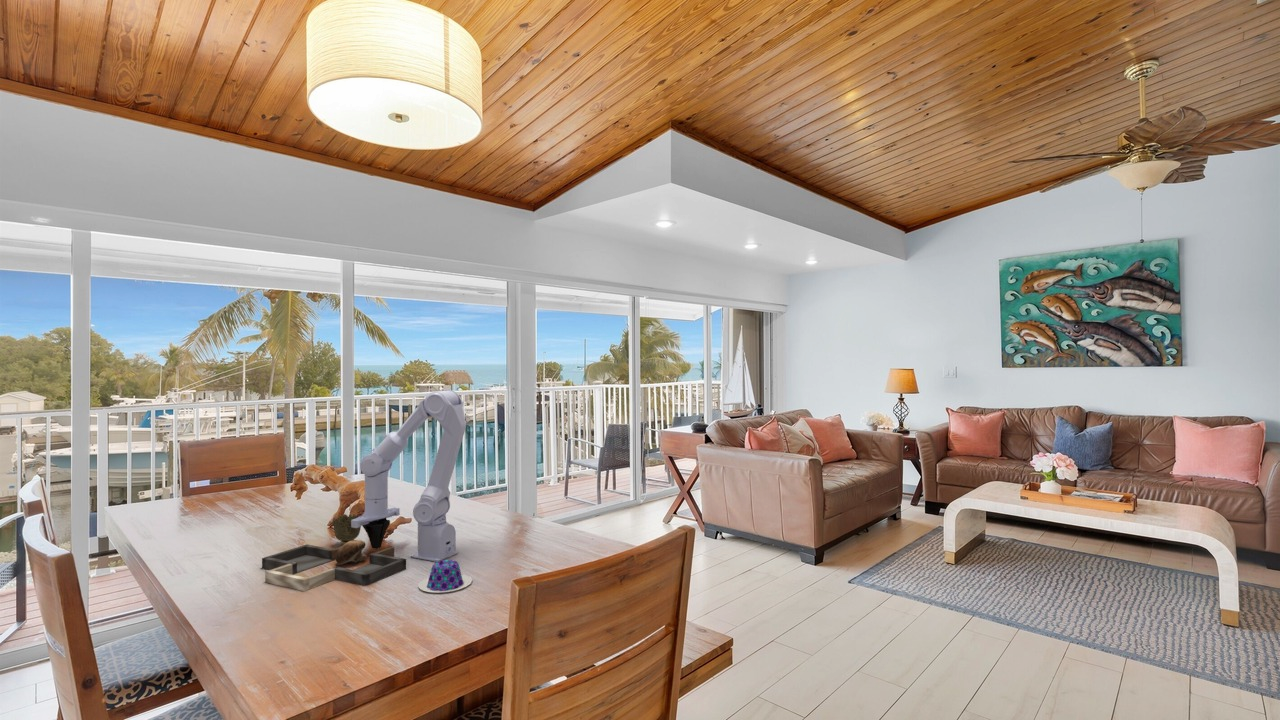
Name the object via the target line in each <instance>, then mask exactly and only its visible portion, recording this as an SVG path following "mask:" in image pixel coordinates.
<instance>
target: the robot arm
mask: <svg viewBox="0 0 1280 720" xmlns="http://www.w3.org/2000/svg"><path fill="white" fill-rule="evenodd" d="M464 403H465V402H464V400H463V399H462V398H461V396H460V395H459V394H458V392H456V391H455V390H452V389H447V390H444V391H432V392H429V393H428V394H427V395H426V396H425V398H424V399H422V400H421V401H419V403H418V404H417V407H416V408H415V409H414V410H413V412H412V413H411V414H410V415H409V416H408V418H407V419H406V420H405V421H404V423H403V424H402V425H401V426H400V427H399V429H398V430H397V431H391V432H389V433H386V434H384V435H383V437H382V441H381V442H380V443H379V444H378V445H377V446H375V447H373V448H372V449H371V451H372V453H369V454H366V455H364V456H363V458H362V459H361V461H360V465H359V467H360V470H361V473H362V474H363V475H364V512H363V513H362V514H361V516H360V515H359V516H360V517H358V518H356V519H353V520H351V527H353V528H359V527H360V526H361V527H362V528H363V529H364V531H365V533H366V534H367V537H368V540H369V543H370V546H371V547H370V548H371V549H375V550H379V549H381V548H382V544H383V540H384V537H385V535H386V532H387V530H388V528H389V527H390V524H391V520H390V519H389V518H392V517H395V516H396V517H398V516H400V508H399V507H392V508H389V507H388V502H389V501H388V499H389V498H388V494H389V491H388V489H389V488H388V487H389V486H388V482H389V481H388V478H389V471H390V470H391V468H392V466H393V462H394V461H395V460H396V459H397V458H398V457H399V456H400V455H401V453H402V452H403V451H404V450H405V449H406V448H407V446H408V445H409V444H408V439H409V438H410V437H411V436H412V435H413V434H414V433H415V432H416V431H417V430H418V429H419V428H420V427H421V426H422V425H423V424H424V423H425V422H426V421H427V420H428V419H431V418H433V419H434V420H436V421H437V422H438V423H439V424H440V426H441V427H442V429H443V432H442V436H441V438H440V441H439V445H438V450H437V452H436V456H435V460H434V462H433V465H432V466H433V467H432V468H431V469H432V470H431V473H430V477H429V480H428V483H427V485H426V488H425V489H424V490H423V492H422V494H421V495H420V498H419V500H418V502H417V503H416V504H415V505H414V507H413V509H412V516H413V518H414V519H415V521H416V522H417V552H415V553H413V554H410V556H409V557H410V558H415V559H420V560H424V561H431V562H435V563H436V562H440V561H442V560H445V559H447V558H450V557H452V556H455V555H457V554H458V551H457V550H456V549H457V548H456V543H457V540H456V539H457V537H456V528H455V526H454V525H452V524H450V523H449V522H447V515H446V514H448V512H449V510H450V508H451V502H450V495H451V491H450V489H449V486H450V484H451V480H452V477H453V473H454V469H455V466H456V463H457V458H458V456H459V452H460V449H461V446H462V442H463V439H464V435H465V431H466V428H467V423H466V418H465V412H464Z"/></svg>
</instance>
